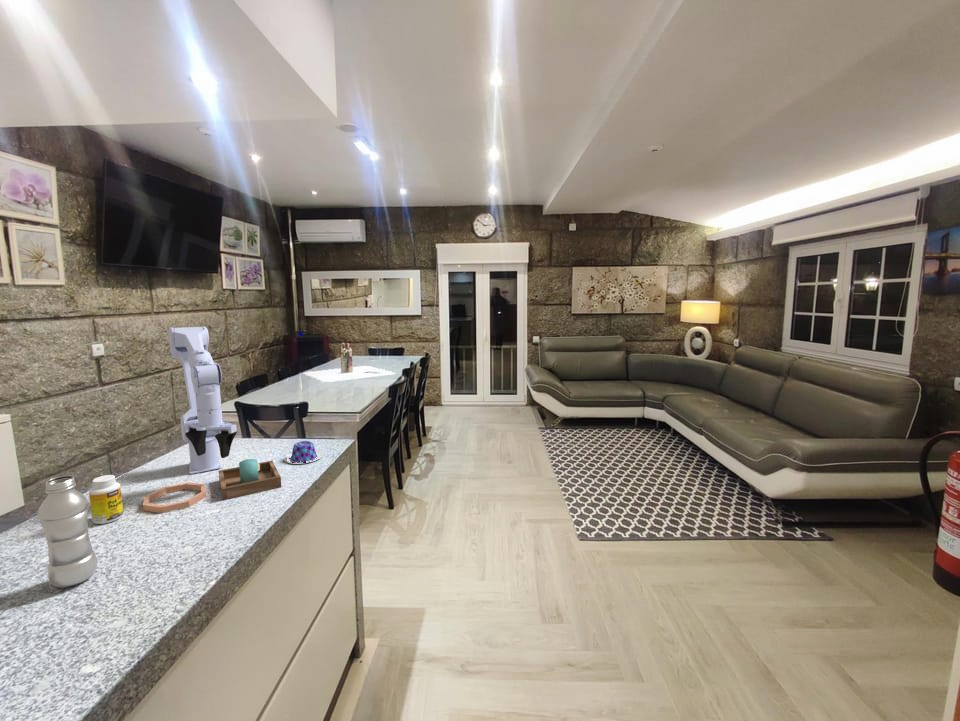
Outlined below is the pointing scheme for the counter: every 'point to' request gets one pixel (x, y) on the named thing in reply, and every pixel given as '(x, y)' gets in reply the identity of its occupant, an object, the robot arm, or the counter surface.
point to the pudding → (303, 452)
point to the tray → (234, 488)
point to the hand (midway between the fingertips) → (213, 455)
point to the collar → (177, 505)
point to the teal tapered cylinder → (249, 470)
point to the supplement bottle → (105, 500)
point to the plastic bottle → (66, 533)
